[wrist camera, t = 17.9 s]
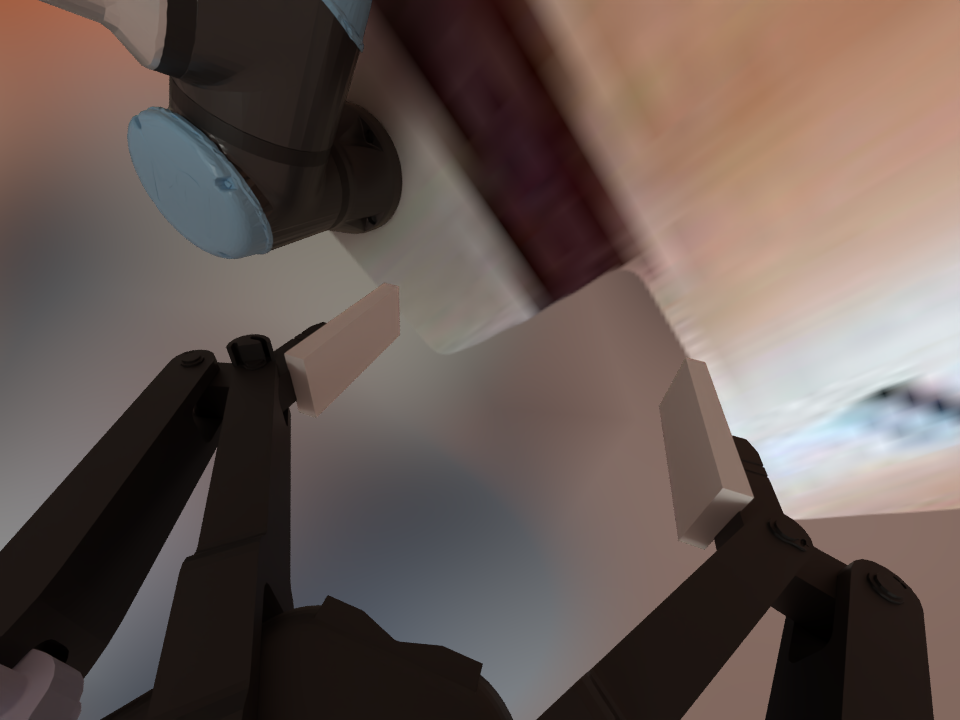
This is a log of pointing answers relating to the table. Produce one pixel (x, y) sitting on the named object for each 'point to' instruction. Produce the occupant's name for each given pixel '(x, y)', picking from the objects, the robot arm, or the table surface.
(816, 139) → the table surface
